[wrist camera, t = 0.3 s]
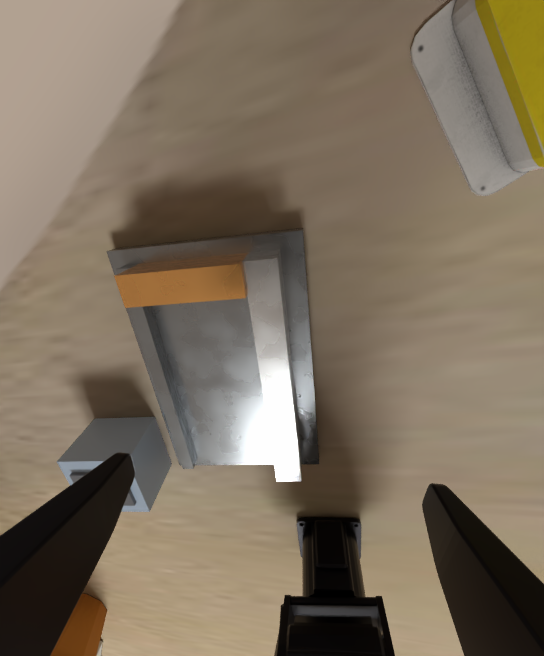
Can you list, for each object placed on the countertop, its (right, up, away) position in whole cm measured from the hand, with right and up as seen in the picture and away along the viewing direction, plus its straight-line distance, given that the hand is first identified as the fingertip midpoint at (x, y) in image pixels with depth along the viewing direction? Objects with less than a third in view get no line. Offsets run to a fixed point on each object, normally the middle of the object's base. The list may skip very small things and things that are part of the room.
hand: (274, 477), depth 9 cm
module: (-13, -6, +20) cm, 25 cm away
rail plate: (-3, +1, +15) cm, 16 cm away
